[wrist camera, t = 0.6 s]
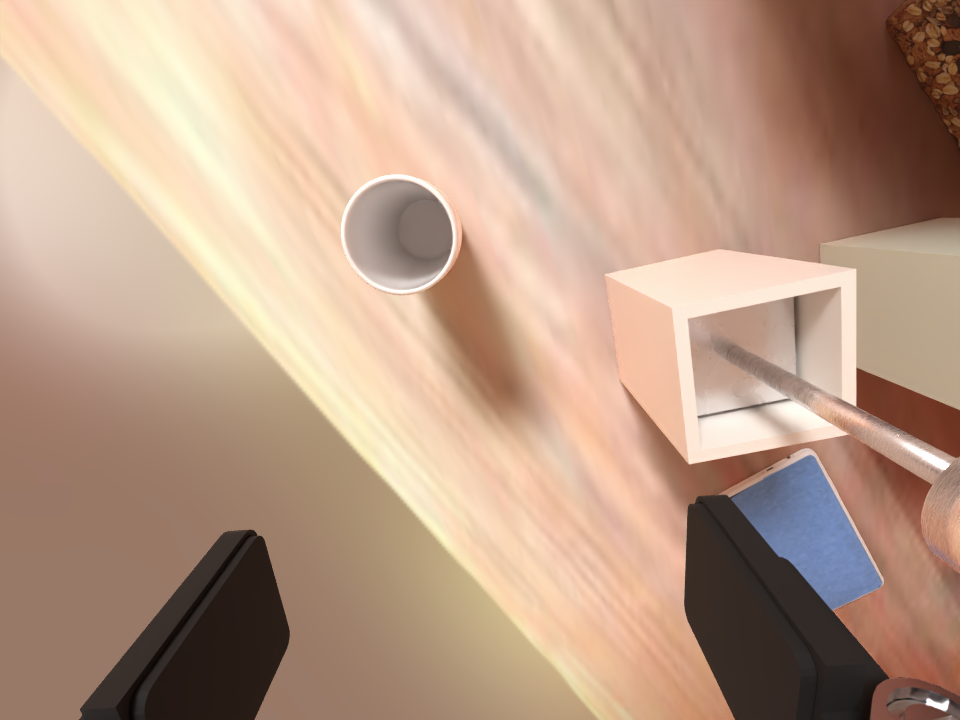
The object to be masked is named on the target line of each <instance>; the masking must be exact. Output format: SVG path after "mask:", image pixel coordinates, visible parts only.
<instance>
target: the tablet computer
mask: <svg viewBox="0 0 960 720" xmlns="http://www.w3.org/2000/svg"><path fill="white" fill-rule="evenodd" d="M717 495H727V496H728V497H730V498H731V500H732V501H733V502H734V503H735V504H736V506H737V507H738V508H739V509H740V511H741V512H742V513H743V514H744V515H745V517H746V518H747V519H748V520H749V521H750V523H751V524H752V525H753V526H754V527H755V529H756V530H757V531H758V532H759V533H760V535H761V536H762V537H763V538H764V539H765V541H766V542H767V543H768V544H769V546H770V547H771V548H772V549H773V550H774V552H775V553H776V554H777V555H778V556H779V557H783V558H785V559H787V560H789V561H790V562H791V563H792V564H793V565H794V566H795V568H796V569H797V570H798V571H799V572H800V573H801V575H802V576H803V577H804V578H805V579H806V581H807V582H808V583H809V584H810V585H811V586H812V588H813V589H814V590H815V591H816V592H817V593H818V595H819V596H820V597H821V598H822V599H823V601H824V602H825V603H826V604H827V605H828V606H829V608H830V609H831V610H832V611H833V610H835V609H837V608H839V607H842V606H844V605H846V604H848V603H850V602H852V601H854V600H856V599H859V598H861V597H863V596H865V595H867V594H869V593H871V592H873V591H875V590H877V589H879V588H881V587H882V586H883V584H884V579H883V577H882V575H881V573H880V571H879V569H878V567H877V566H876V564H875V562H874V560H873V558H872V556H871V554H870V552H869V550H868V549H867V547H866V545H865V543H864V541H863V539H862V537H861V535H860V533H859V532H858V530H857V528H856V526H855V524H854V522H853V520H852V519H851V517H850V515H849V513H848V511H847V509H846V507H845V506H844V504H843V502H842V500H841V498H840V497H839V494H838V492H837V490H836V488H835V487H834V485H833V482H832V481H831V479H830V478H829V476H828V474H827V472H826V470H825V468H824V467H823V465H822V463H821V462H820V460H819V458H818V456H817V454H816V453H815V452H814V451H813V450H812V449H809V448H805V449H801V450H799V451H797V452H795V453H794V454H792V455H790V457H789V458H784V459H782V460H781V461H779V462H777V463H775V464H773V465H771V466H769V467H768V468H766V469H764V470H762V471H760V472H758V473H756V474H755V475H753V476H751V477H749V478H747V479H745V480H743V481H742V482H740V483H738V484H736V485H734V486H732V487H730V488H728V489H727V490H725V491H723V492H721V493H719V494H717Z"/></svg>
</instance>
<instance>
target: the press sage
mask: <svg viewBox="0 0 960 720" xmlns="http://www.w3.org/2000/svg"><path fill="white" fill-rule="evenodd" d="M820 264H826V265H832V266H839V267H846V268H853V269H856V368H859V369H861V370H864V371H866V372H868V373H871V374H873V375H876V376H878V377H881V378H883V379H885V380H888V381H890V382H893V383H895V384H898V385H900V386H902V387H905V388H907V389H910V390H912V391H915V392H917V393H920V394H922V395H924V396H927V397H929V398H932V399H934V400H937V401H939V402H941V403H944V404H946V405H949V406H951V407H954V408H956V409H958V410H960V218H937V219H933V220H928V221H923V222H919V223H914V224H910V225H905V226H900V227H896V228H891V229H886V230H882V231H877V232H873V233H868V234H863V235H859V236H854V237H849V238H845V239H840V240H836V241H831V242H826V243H822V244H820Z"/></svg>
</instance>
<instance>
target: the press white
mask: <svg viewBox="0 0 960 720" xmlns="http://www.w3.org/2000/svg"><path fill="white" fill-rule="evenodd" d="M604 277H605V283H606V290H607V297H608V304H609V311H610V317H611V324H612V331H613V338H614V344H615V351H616V358H617V365H618V372H619V378H620V381H621V382H622V383H623V384H624V386H625V387H626V388H627V389H628V390H629V392H630V393H631V394H632V395H633V397H634V398H635V399H636V400H637V401H638V403H639V404H640V405H641V406H642V408H643V409H644V410H645V411H646V412H647V414H648V415H649V416H650V417H651V419H652V420H653V421H654V422H655V423H656V425H657V426H658V427H659V428H660V430H661V431H662V432H663V433H664V435H665V436H666V437H667V438H668V439H669V441H670V442H671V443H672V444H673V446H674V447H675V448H676V449H677V450H678V452H679V453H680V454H681V455H682V457H683V458H684V459H685V460H686V461H687V463H688V464H694V463H699V462H705V461H710V460H715V459H721V458H726V457H731V456H736V455H742V454H747V453H752V452H758V451H763V450H768V449H774V448H779V447H784V446H790V445H795V444H800V443H806V442H811V441H816V440H822V439H827V438H832V437H838V436H843V435H848V434H847V433H846V432H844V431H842V430H841V429H839V428H837V427H836V426H834V425H832V424H831V423H829V422H827V421H826V420H824V419H822V418H821V417H819V416H817V415H816V414H814V413H813V412H811V411H809V410H808V409H806V408H804V407H803V406H801V405H799V404H798V403H796V402H794V401H793V400H791V399H789V398H787V399H782V400H777V401H772V402H767V403H762V404H757V405H751V406H746V407H741V408H736V409H731V410H726V411H721V412H715V413H710V414H705V415H700V416H697V407H696V397H695V387H694V377H693V368H692V358H691V348H690V338H689V328H688V319H689V318H693V317H698V316H703V315H708V314H713V313H717V312H722V311H727V310H732V309H736V308H741V307H746V306H751V305H755V304H760V303H765V302H770V301H775V300H779V299H784V298H789V297H793V299H794V326H795V354H796V376H798V377H800V378H802V379H804V380H806V381H808V382H809V383H811V384H813V385H815V386H817V387H819V388H821V389H823V390H825V391H827V392H829V393H831V394H833V395H835V396H837V397H839V398H840V399H842V400H844V401H846V402H848V403H850V404H852V405H854V406H856V269H853V268H846V267H839V266H832V265H826V264H819V263H812V262H805V261H798V260H791V259H784V258H777V257H770V256H764V255H757V254H750V253H743V252H736V251H729V250H722V249H718V250H713V251H709V252H704V253H699V254H695V255H690V256H686V257H681V258H677V259H672V260H667V261H663V262H658V263H654V264H649V265H645V266H640V267H636V268H631V269H626V270H622V271H617V272H613V273H608V274H604Z"/></svg>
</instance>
